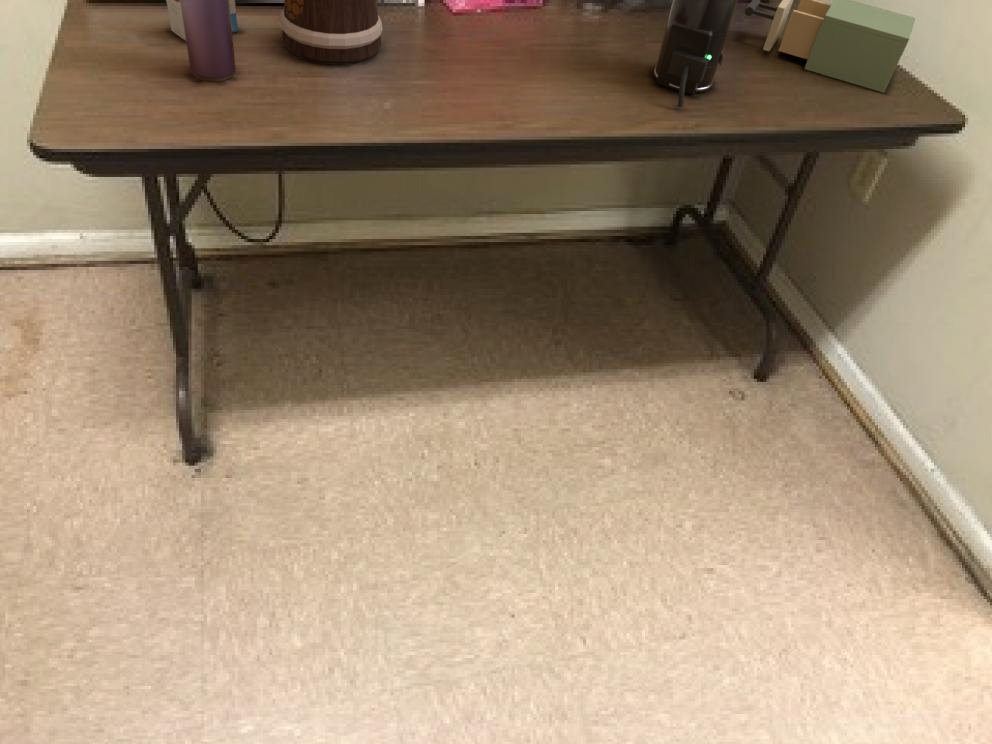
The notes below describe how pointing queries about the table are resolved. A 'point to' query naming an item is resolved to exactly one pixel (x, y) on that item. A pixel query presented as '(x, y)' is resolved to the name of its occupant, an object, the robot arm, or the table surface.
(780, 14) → the drawer
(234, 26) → the ink box
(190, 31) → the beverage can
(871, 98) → the table surface
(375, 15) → the mug
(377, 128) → the table surface
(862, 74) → the cabinet
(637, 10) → the table surface
